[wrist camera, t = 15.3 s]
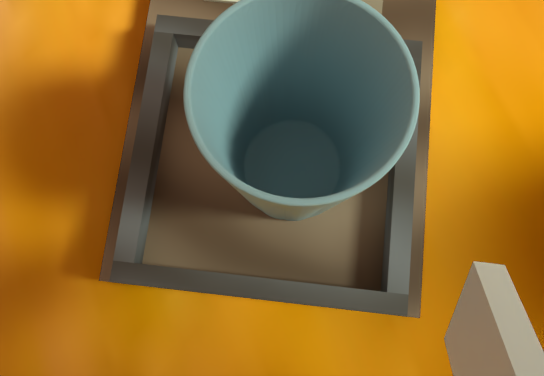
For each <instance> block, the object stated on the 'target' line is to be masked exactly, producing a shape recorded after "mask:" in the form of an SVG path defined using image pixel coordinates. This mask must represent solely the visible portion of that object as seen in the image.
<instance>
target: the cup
mask: <svg viewBox="0 0 544 376" xmlns="http://www.w3.org/2000/svg"><path fill="white" fill-rule="evenodd" d="M183 100H184V110H185V115H186V120H187V123H188V127H189V130H190V132H191V135H192V137H193V140H194V142H195V144H196V145H197V147H198V149H199V151H200V152H201V154H202V155H203V157H204V158H205V159H206V161H207V162H208V163H209V164H210V166H211V167H212V168H213V169H214V170H215V171H216V172H217V173H218V174H219V175H220V176H221V177H222V178H224V179H225V180H226V181H227V182H228V183H229V184H230V185H231V186H233V187H234V188H235V189H236V190H237V191H238V192H239V193H240V194H241V195H242V196H243V197H245V198H246V199H247V200H248V201H249V202H250V203H251V204H252V205H254V206H255V207H256V208H258V209H259V210H261V211H263V212H264V213H265V214H267V215H268V216H270V217H272V218H275V219H282V220H288V221H300V220H303V219H306V218H309V217H313V216H316V215H319V214H321V213H323V212H324V211H326V210H328V209H330V208H332V207H334V206H336V205H337V204H339V203H341V202H343V201H345V200H347V199H349V198H351V197H353V196H355V195H356V194H358V193H360V192H362V191H364V190H366V189H367V188H369V187H370V186H372V185H373V184H375V183H376V182H377V181H379V180H380V179H381V178H382V177H383V176H384V175H385V174H386V173H387V172H388V171H389V170H390V169H391V168H392V167H393V166H394V165H395V164H396V162H397V161H398V160H399V158H400V157H401V155H402V154H403V152H404V151H405V149H406V148H407V146H408V144H409V142H410V140H411V137H412V135H413V132H414V130H415V126H416V123H417V118H418V113H419V104H420V88H419V80H418V75H417V70H416V67H415V64H414V61H413V58H412V56H411V54H410V51H409V49H408V47H407V46H406V44H405V42H404V40H403V39H402V37H401V36H400V34H399V33H398V32H397V30H396V29H395V28H394V27H393V25H392V24H391V23H390V22H389V21H388V20H387V19H386V18H385V17H384V16H382V15H381V14H380V13H379V12H378V11H377V10H375V9H374V8H372V7H371V6H370V5H368V4H367V3H365V2H363V1H361V0H240V1H238V2H236V3H235V4H233V5H232V6H230V7H229V8H228V9H226V10H225V11H224V12H222V13H221V14H220V15H219V16H218V17H217V18H216V19H215V20H214V21H213V22H212V23H211V24H210V25H209V26H208V28H207V29H206V30H205V32H204V33H203V34H202V36H201V37H200V39H199V41H198V42H197V44H196V46H195V48H194V50H193V52H192V54H191V57H190V60H189V63H188V66H187V69H186V74H185V80H184V90H183Z"/></svg>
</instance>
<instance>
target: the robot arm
mask: <svg viewBox="0 0 544 376" xmlns="http://www.w3.org/2000/svg"><path fill="white" fill-rule="evenodd" d="M444 340H445V344H446V348H447V352H448V356H449V360H450V364H451V368H452V372H453V376H544V351H543V349H542V347H541V345H540V342H539V340H538V338H537V336H536V333H535V331H534V329H533V327H532V324H531V322H530V320H529V318H528V315H527V313H526V311H525V309H524V307H523V304H522V302H521V300H520V298H519V295H518V293H517V291H516V289H515V286H514V284H513V282H512V280H511V278H510V275H509V273H508V271H507V269H506V266H505V265H501V264H493V263H485V262H476V261H473V263H472V266H471V269H470V271H469V274H468V277H467V279H466V282H465V284H464V287H463V290H462V292H461V295H460V298H459V300H458V303H457V306H456V308H455V311H454V313H453V316H452V319H451V321H450V324H449V327H448V329H447V332H446V335H445V337H444Z"/></svg>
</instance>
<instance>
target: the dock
mask: <svg viewBox="0 0 544 376" xmlns="http://www.w3.org/2000/svg"><path fill="white" fill-rule="evenodd" d="M238 1H240V0H150V6H149V11H148V17H147V22H146V27H145V33H144V38H143V44H142V49H141V55H140V60H139V66H138V71H137V76H136V82H135V87H134V93H133V98H132V104H131V109H130V115H129V120H128V125H127V131H126V136H125V142H124V147H123V153H122V158H121V164H120V169H119V174H118V180H117V185H116V191H115V196H114V202H113V207H112V213H111V218H110V223H109V229H108V234H107V240H106V245H105V251H104V256H103V261H102V267H101V272H100V278H99V281H107V282H115V283H124V284H132V285H141V286H149V287H158V288H167V289H175V290H184V291H192V292H201V293H209V294H218V295H227V296H235V297H244V298H252V299H261V300H269V301H278V302H286V303H295V304H304V305H312V306H321V307H329V308H338V309H346V310H355V311H364V312H372V313H381V314H389V315H398V316H406V317H415V318H420V308H421V288H422V268H423V248H424V228H425V208H426V189H427V169H428V149H429V129H430V109H431V89H432V69H433V50H434V30H435V10H436V0H361V1H363V2H365V3H367V4H368V5H370V6H371V7H372V8H374V9H375V10H377V11H378V12H379V13H380V14H381V15H382V16H384V17H385V18H386V19H387V20H388V21H389V22H390V23H391V24H392V25H393V27H394V28H395V29H396V30H397V32H398V33H399V34H400V36H401V37H402V39H403V40H404V42H405V44H406V46H407V47H408V49H409V51H410V54H411V56H412V58H413V61H414V64H415V67H416V70H417V75H418V80H419V88H420V104H419V113H418V118H417V123H416V126H415V130H414V132H413V135H412V137H411V140H410V142H409V144H408V146H407V148H406V149H405V151H404V152H403V154H402V155H401V157H400V158H399V160H398V161H397V162H396V164H395V165H394V166H393V167H392V168H391V169H390V170H389V171H388V172H387V173H386V174H385V175H384V176H383V177H382V178H381V179H380V180H379V181H377V182H376V183H375V184H373V185H372V186H370V187H369V188H367V189H366V190H364V191H362V192H360V193H358V194H356V195H355V196H353V197H351V198H349V199H347V200H345V201H343V202H341V203H339V204H337V205H336V206H334V207H332V208H330V209H328V210H326V211H324V212H323V213H321V214H319V215H316V216H313V217H309V218H306V219H303V220H300V221H288V220H282V219H275V218H272V217H270V216H268V215H267V214H265V213H264V212H263V211H261V210H259V209H258V208H256V207H255V206H254V205H252V204H251V203H250V202H249V201H248V200H247V199H246V198H245V197H243V196H242V195H241V194H240V193H239V192H238V191H237V190H236V189H235V188H234V187H233V186H231V185H230V184H229V183H228V182H227V181H226V180H225V179H224V178H222V177H221V176H220V175H219V174H218V173H217V172H216V171H215V170H214V169H213V168H212V167H211V166H210V164H209V163H208V162H207V161H206V159H205V158H204V157H203V155H202V154H201V152H200V151H199V149H198V147H197V145H196V144H195V142H194V140H193V137H192V135H191V132H190V130H189V127H188V123H187V120H186V115H185V110H184V100H183V90H184V80H185V74H186V69H187V66H188V63H189V60H190V57H191V54H192V52H193V50H194V48H195V46H196V44H197V42H198V41H199V39H200V37H201V36H202V34H203V33H204V32H205V30H206V29H207V28H208V26H209V25H210V24H211V23H212V22H213V21H214V20H215V19H216V18H217V17H218V16H219V15H220V14H221V13H222V12H224V11H225V10H226V9H228V8H229V7H230V6H232V5H233V4H235V3H236V2H238Z"/></svg>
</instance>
